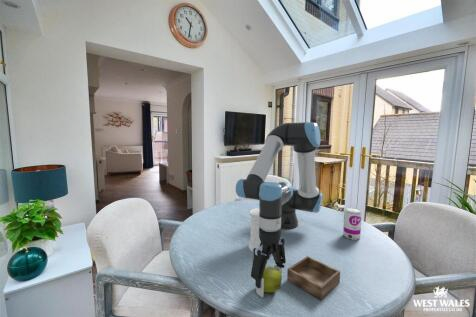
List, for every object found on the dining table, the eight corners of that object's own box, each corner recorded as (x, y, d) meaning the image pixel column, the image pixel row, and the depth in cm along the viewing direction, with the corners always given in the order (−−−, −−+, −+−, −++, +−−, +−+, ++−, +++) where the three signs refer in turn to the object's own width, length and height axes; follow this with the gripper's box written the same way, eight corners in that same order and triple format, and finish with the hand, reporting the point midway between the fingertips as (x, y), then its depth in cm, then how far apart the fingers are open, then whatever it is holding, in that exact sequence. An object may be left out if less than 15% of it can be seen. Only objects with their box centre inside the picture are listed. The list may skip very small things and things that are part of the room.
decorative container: (274, 244, 110) (275, 209, 108) (270, 256, 99) (270, 217, 97) (252, 240, 114) (252, 207, 112) (245, 251, 103) (245, 214, 101)
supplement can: (362, 241, 113) (364, 213, 112) (345, 239, 115) (346, 212, 113) (357, 234, 121) (358, 208, 119) (341, 232, 123) (342, 207, 121)
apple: (254, 282, 81) (255, 261, 80) (279, 282, 81) (279, 262, 80) (255, 297, 73) (256, 275, 73) (283, 298, 73) (283, 275, 72)
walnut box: (287, 280, 82) (287, 268, 82) (307, 266, 91) (307, 256, 91) (320, 300, 72) (321, 287, 72) (339, 282, 81) (340, 271, 80)
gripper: (256, 241, 65) (255, 310, 68) (297, 223, 79) (295, 281, 81) (239, 232, 71) (239, 297, 73) (280, 217, 85) (279, 272, 87)
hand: (268, 288), depth 77 cm, fingers closed on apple, 8 cm apart
